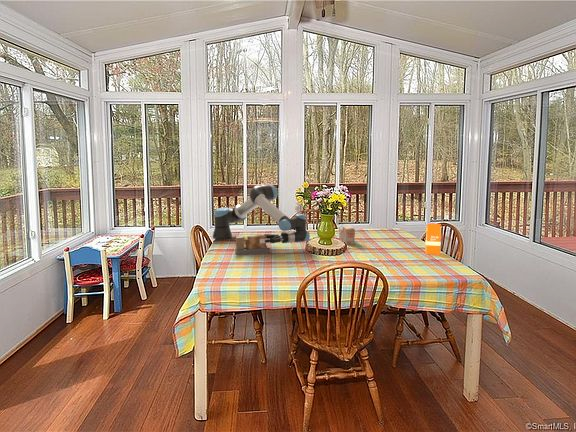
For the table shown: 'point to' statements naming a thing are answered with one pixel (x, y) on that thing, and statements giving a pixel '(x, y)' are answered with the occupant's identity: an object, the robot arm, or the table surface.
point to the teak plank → (255, 242)
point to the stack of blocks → (347, 235)
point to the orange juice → (433, 239)
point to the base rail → (243, 251)
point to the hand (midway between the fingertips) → (257, 239)
